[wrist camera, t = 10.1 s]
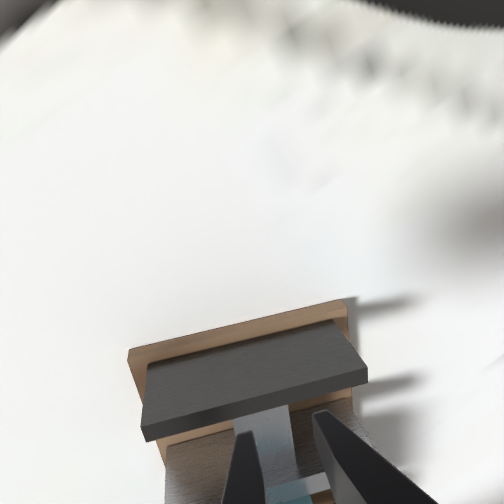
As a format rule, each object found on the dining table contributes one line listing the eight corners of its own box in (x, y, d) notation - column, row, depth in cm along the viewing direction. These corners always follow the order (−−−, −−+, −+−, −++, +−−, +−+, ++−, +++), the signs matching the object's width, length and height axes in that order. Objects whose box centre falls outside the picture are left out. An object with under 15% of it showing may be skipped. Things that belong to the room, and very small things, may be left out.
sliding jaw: (346, 414, 25) (378, 473, 21) (171, 463, 24) (170, 536, 20) (340, 317, 22) (377, 364, 18) (138, 366, 20) (129, 429, 16)
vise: (352, 503, 31) (387, 581, 26) (199, 551, 29) (204, 643, 24) (340, 299, 23) (386, 353, 18) (129, 349, 21) (114, 424, 16)
